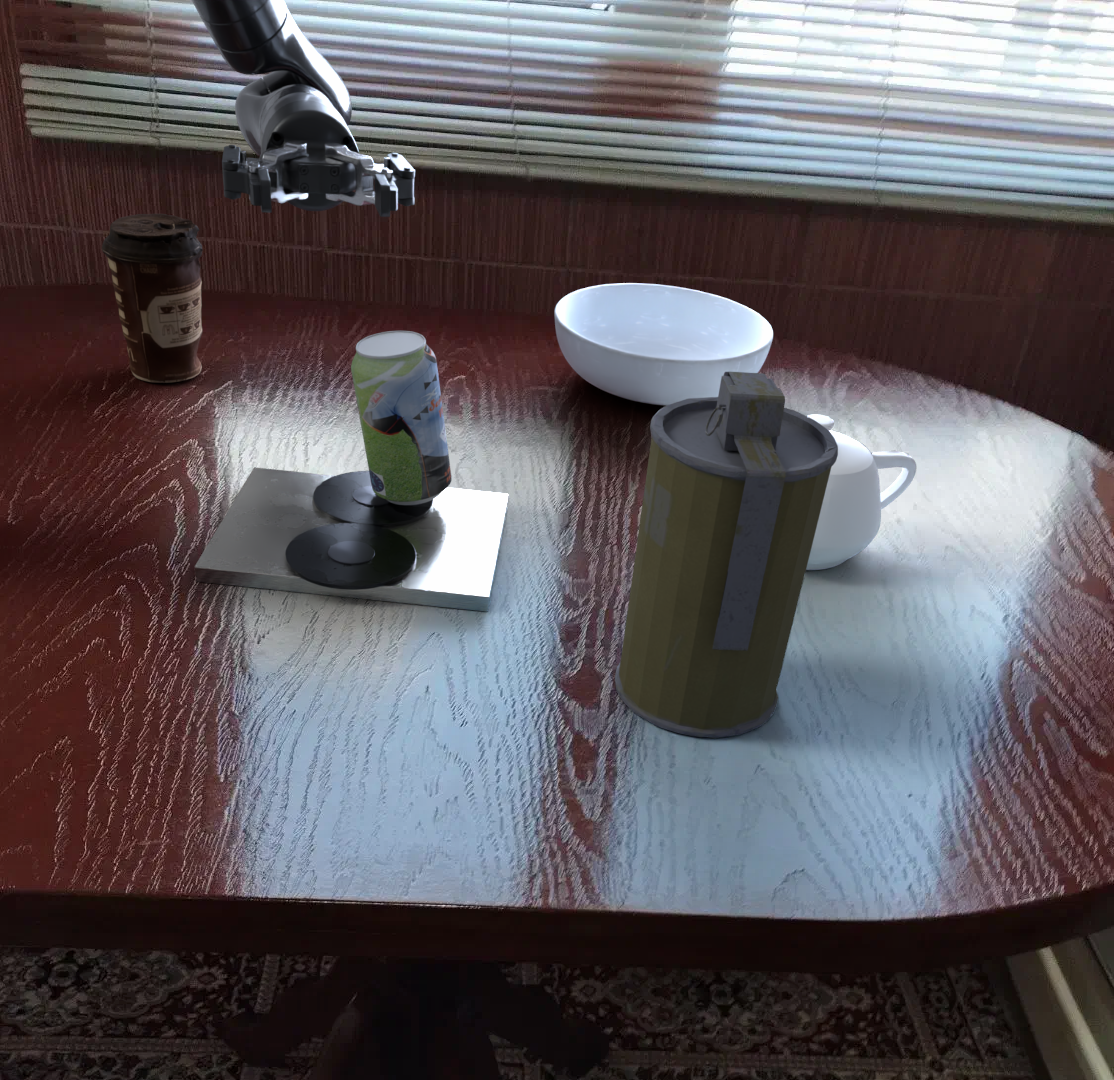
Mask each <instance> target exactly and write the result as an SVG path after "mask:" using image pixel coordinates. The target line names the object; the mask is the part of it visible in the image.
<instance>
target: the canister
mask: <svg viewBox="0 0 1114 1080" xmlns="http://www.w3.org/2000/svg"><path fill="white" fill-rule="evenodd" d="M785 404H786V395H785V394H784V393H783V391H782V389H781V388H780V387H777V385H776V383H775V381H774V380H773V378H768V377H767V375H766V373H761V372H758V373H746V372H730V371H729V372H725V373H724V376H722V378H721V383H720V389H719V395H718V397H707V398H688V399H685V400H682V401H679V402H676V403H673V404H670V405H667V406H666V405H664V406H663V407H661V408H660V409H659V410H658V411H657V412H656V413H655V414H654V415H653V416H652V418H651V421H650V425H649V429H650V435H651V436H650V437H651V439H650V440H651V441H650V447H649V454H648V460H647V461H648V462H647V468H646V476H645V483H644V491H643V498H642V504H641V505H642V506H641V512H640V520H639V527H638V534H637V541H636V547H635V548H636V549H635V556H634V562H633V569H632V577H631V583H630V589H629V590H630V593H629V598H628V606H627V613H626V619H625V627H624V634H623V641H622V648H621V654H620V655H621V656H620V662H619V663H618V664H617V666H616V668H615V675H614V683H615V690H616V692H617V694H618V696H619V698H620V699H621V701H622V702H623V703H624V704H625V705H626V706H627V707H628V708H629V709H630V710H631V711H632V712H633V713H634V714H635V715H636V716H638V717H640V718H641V719H644V720H645V721H647V722H649V723H650V724H652V725H654V726H656V727H658V728H660V729H662V730H663V729H664V730H667V731H670V732H674V733H677V734H681V735H686V736H689V737H698V738H711V739H712V738H713V739H719V738H725V737H731V736H739V735H744V734H746V733H748V732H751V731H753V730H756V729H758V728H759V727H761V726H763V725H764V724H765V723H767V722H768V721H769V720H770V719H771V718H772V717H773V715H774V713H775V711H776V709H777V706H778V702H779V701H778V700H779V696H778V690H777V689H778V685H779V681H780V678H781V677H780V676H781V672H782V668H783V665H784V660H785V657H786V652H787V648H788V645H789V640H790V638H791V633H792V628H793V625H794V620H795V616H796V612H797V608H798V604H799V601H800V596H801V592H802V587H803V585H804V580H805V576H806V571H807V570H806V568H807V564H808V560H809V556H810V552H811V548H812V544H813V540H814V535H815V531H816V527H817V523H818V519H819V515H820V511H821V507H822V503H823V499H824V495H825V491H826V487H827V483H828V479H829V475H830V471H831V467H832V466H833V465H834V463H835V462H836V459H837V456H838V446H837V443H836V440H835V438H834V436H833V435H832V434H831V433H830V431H829V430H828V429H826V428H825V427H823V426H822V425H821V424H819V423H818V422H816V421H815V420H813V419H811V418H809V417H807V416H808V415H805V414H803V413H801V412H799V411H796V410H795V409H791V408H787V407H785Z"/></svg>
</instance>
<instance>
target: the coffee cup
mask: <svg viewBox="0 0 1114 1080" xmlns="http://www.w3.org/2000/svg"><path fill="white" fill-rule="evenodd" d="M198 232H200V229H199V227H198V225H197V224H195V223H193V221H192V220H190V219H185V218H182V217H180V216H176V215H173V214H172V215H171V214H166V213H137V214H131V215H127V216H122V217H119V218H117V219H116V220H114V221H113V222H111V223H110V225H109V234H108V235H107V236H106V237H105V238H104V240H103V242H102V244H101V245H102V246H101V251H102V253H103V254H104V255H105V257H106V259H107V263H108V267H109V270H110V272H111V279H112V286H113V290H114V296H115V302H116V304H117V307H118V317H119V321H120V324H121V328H122V335H123V337H124V339H125V341H126V351H127V355H128V359H129V370H130V371H131V373H132V375H133V376H134V377H135V378H136V379H138V380H141V381H143V382H148V383H158V384H159V383H160V384H161V383H163V384H165V383H166V384H167V383H169V384H171V383H177V382H182V381H187V380H190V379H193V378H195V377H196V376H198V375H199V374H200V373H201V372H202V367H203V365H202V363H201V361H200V359H199V357H198V350H199V345H200V341H201V339H202V336H203V326H202V323H203V322H202V306H203V304H202V284H203V281H202V277H201V275H200V274H201V273H200V272H201V263H200V258H201V257H202V254H203V251H204V249H203V245H202V243H201V242H200V241H199V239H198V238H197V237H198Z"/></svg>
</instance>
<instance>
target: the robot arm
mask: <svg viewBox="0 0 1114 1080" xmlns="http://www.w3.org/2000/svg"><path fill="white" fill-rule="evenodd" d="M191 2H192V4H193V6H194V8H195V9H196V12H197V14H198V15H199V17H200V19H201V21H202V22H203V25H204V26H205V28H206V30H207V32H208V33H209V35H210V37H211V39H212V40H213V43H214V44H215V46H216V48H217V50H218V52H219V53H220V56H221V57H222V59H223V60H224V62H225V63H226V64H227V65H228V67H229V68H231V69H232V70H233V71H234V72H236V73H239V74H241V75H245V76H246V75H247V76H256V75H263V74H265V75H263V76H262V77H260V78H257V79H255V80H254V81H252V82H250V83H249V84H247V85H245V86H244V87H243V88H242V89H241V90H240V91H239V93H238V95H237V96H236V99H235V105H234V113H235V119H236V122H237V126H238V129H239V131H240V133H241V135H242V137H243V139H244V141H245V142H246V144H247V145H248V146H249V148H250V149H251V150H252V151H253V152H254V154H255V155H256V156H257V157H258V158H257V157H247V151H246V150H241V147H240V146H236V145H235V144H229V145H225V146H223V152H222V159H221V167H222V182H223V183H222V184H223V196H224V198H226V199H229V200H232V201H233V200H237V199H241V198H242V194H245V195H248V199H249V201H250V204H251V205H253V206H254V207H255V206H256V207H260V210H261V213H269V214H271V213H272V212H273V211H272V202H273V203H274V202H275V203H280V204H284V203H288V204H290V205H291V206H293V207H295V208H297V209H300V210H303V211H309V212H323V211H324V212H325V211H328V210H331V209H334V208H335V207H337V206H339V205H341V204H342V203H343V202H346V203H349V204H352V205H355V206H358V207H363V206H367V205H372V204H373V205H374V207H375V209H376V211H377V213H378V216H379V217H381V218H390V217H391V212H397V211H398V209H399V205H402V206H403V207H410V206H414V205H415V177H416V169H414V167H413V166H412V165H411V164H410V163H409V162H408V160H406V158H405V157H404V156H403V155H402V154H399V153H398V152H391V153H387V154H386V156H385V157H383V163H375V162H374V159H373V158H372V157H371V156H369V155H365V154H363V153H360V151H359V148H358V145H357V143H356V140H355V138H354V137H353V134H352V132H351V131H350V128H349V125H350V122H351V119H352V113H353V106H352V104H353V103H352V98H351V95H350V92H349V90H348V88H347V86H346V83H345V82H344V80H343V78H342V77H341V76H340V74H339V73H338V71H336V70H335V69H336V68H334V67H333V66H332V64H331V63H330V62H329V61H328V60H327V59H326V57H324V55H322V53H321V52H320V51H319V50H318V49H317V48H316V47H315V46H314V44H312V42H311V41H310V40H309V39H308V38H307V36H306V35H305V33H304V32H303V31H302V30H301V28H300V27H299V25H298V23H297V22H296V20H295V19H294V17H293V15H292V13H291V11H290V9H289V7H288V5H287V3H286V0H191Z"/></svg>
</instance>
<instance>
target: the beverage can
mask: <svg viewBox="0 0 1114 1080" xmlns="http://www.w3.org/2000/svg"><path fill="white" fill-rule="evenodd" d="M355 351H356V352H355V355H354V357H353V358H352V361H351V365H350V372H351V376H352V382H353V387H354V388H353V389H354V394H355V399H356V404H357V411H358V416H359V421H360V428H361V433H362V434H361V435H362V439H363V445H364V450H365V455H366V462H367V467H368V471H369V473H370V479H371V485H372V489H373V491H374V493H375V494H376V495H378V496H379V497H381V498H383V499H386V500H387V501H389V502H391V503H394V504H398V505H416V504H421V503H425V502H428V501H431V500H433V499H435V498H436V497H438V496H439V495H440V494H441V492H442V491H444V490H445V489H446V488H449V486H450V485H451V483H452V471H451V463H450V453H449V447H448V440H447V432H446V424H445V416H444V408H443V402H442V401H443V399H442V394H441V393H442V392H441V387H440V386H441V385H440V378H439V371H438V361H437V357H436V355H435V353H434V351H433V349H432V348H431V347H430V346H429V345H428V344H427V339H426V338H425V336H424V335H423V334H421V333H418V332H416V331H412V330H411V331H410V330H389V331H382V332H378V333H373V334H371V335H368V336H365V337H363V338H362V339H360V340H359V341H358V342H357V343H356V345H355Z"/></svg>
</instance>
